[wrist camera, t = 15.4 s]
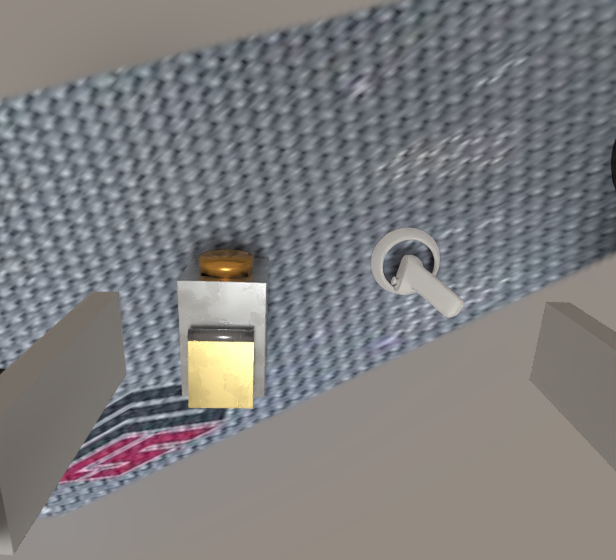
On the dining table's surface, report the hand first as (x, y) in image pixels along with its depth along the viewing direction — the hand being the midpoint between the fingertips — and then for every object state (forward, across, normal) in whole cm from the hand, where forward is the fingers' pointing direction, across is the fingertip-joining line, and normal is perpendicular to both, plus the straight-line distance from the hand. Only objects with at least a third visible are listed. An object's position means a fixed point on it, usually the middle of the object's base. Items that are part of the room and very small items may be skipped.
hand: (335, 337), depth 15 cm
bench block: (+37, +7, +14) cm, 40 cm away
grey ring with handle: (+37, -12, +8) cm, 40 cm away
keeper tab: (+28, +7, +16) cm, 33 cm away
